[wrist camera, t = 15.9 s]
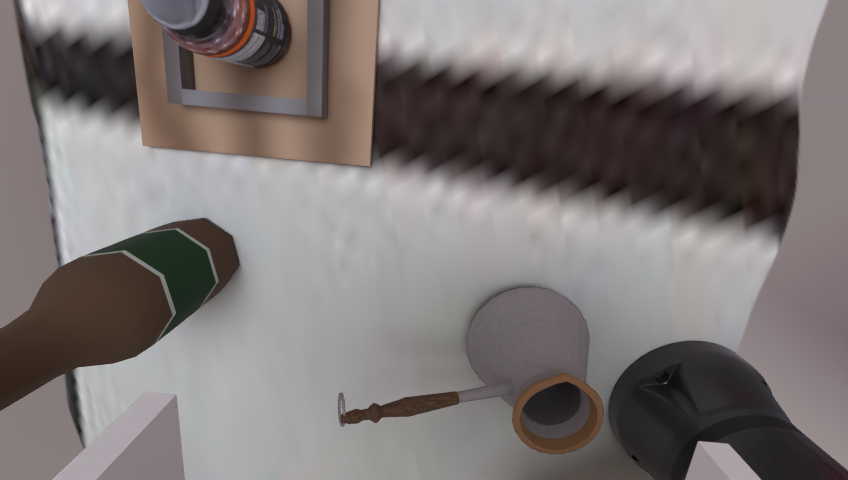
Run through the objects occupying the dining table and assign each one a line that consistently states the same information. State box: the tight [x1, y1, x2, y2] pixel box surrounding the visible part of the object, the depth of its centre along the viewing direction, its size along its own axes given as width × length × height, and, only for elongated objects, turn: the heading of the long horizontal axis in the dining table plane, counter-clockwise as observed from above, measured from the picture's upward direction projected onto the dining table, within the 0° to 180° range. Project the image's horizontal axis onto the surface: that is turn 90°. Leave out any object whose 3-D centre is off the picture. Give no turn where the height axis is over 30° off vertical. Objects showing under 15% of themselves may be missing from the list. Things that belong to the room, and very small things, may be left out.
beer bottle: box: [0, 218, 239, 411], centre depth 28 cm, size 8×8×24 cm
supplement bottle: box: [140, 0, 291, 68], centre depth 28 cm, size 6×6×11 cm
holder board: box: [128, 0, 380, 166], centre depth 32 cm, size 20×20×3 cm
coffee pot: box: [338, 287, 604, 454], centre depth 34 cm, size 21×12×15 cm, turn 85°
